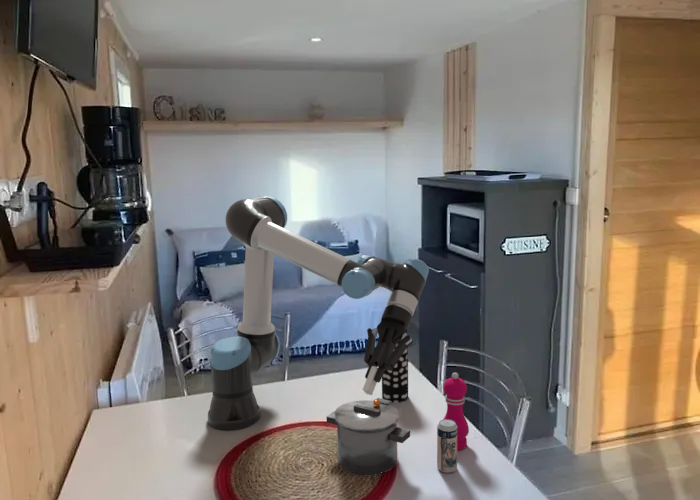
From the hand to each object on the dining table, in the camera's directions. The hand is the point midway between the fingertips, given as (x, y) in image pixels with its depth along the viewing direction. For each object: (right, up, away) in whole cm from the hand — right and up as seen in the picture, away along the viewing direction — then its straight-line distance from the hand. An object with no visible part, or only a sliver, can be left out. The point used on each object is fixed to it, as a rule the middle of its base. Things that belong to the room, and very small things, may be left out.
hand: (367, 392), depth 143 cm
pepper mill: (+23, -16, +10) cm, 30 cm away
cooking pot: (0, -18, +3) cm, 18 cm away
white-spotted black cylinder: (+10, -12, +40) cm, 43 cm away
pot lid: (0, -7, +2) cm, 7 cm away
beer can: (+19, -18, -2) cm, 27 cm away
